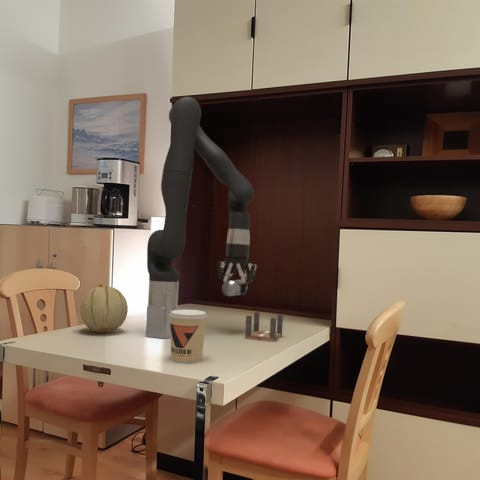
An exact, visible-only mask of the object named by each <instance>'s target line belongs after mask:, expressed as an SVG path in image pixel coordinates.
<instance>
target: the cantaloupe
mask: <svg viewBox="0 0 480 480" xmlns="http://www.w3.org/2000/svg"><path fill="white" fill-rule="evenodd" d="M128 307H129V306H128V302H127V300H126V298H125V296H124V295H123V293H122V292H121V291H120V290H119V289H118V288H115V287H112V286H105V285H104V284H102V283H100V284H99V285H98V286H97V287H93V288H92V289H90V290H89V291H88V292H87V293H86V294H85V295H84V297H83V298H82V301H81V303H80V311H79V313H80V318H81V320H82V321H81V322H82V323H83V324H84V325H85V326H86V327H87V329H89V330H91V331H93V332H97V333H99V334H106V333H109V332H113V331H115V330H117V329H119V328H120V327H121V326H122V325H123V324H124V323H125V321H126V319H127V317H128V315H127V314H128V310H129V309H128Z"/></svg>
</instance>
